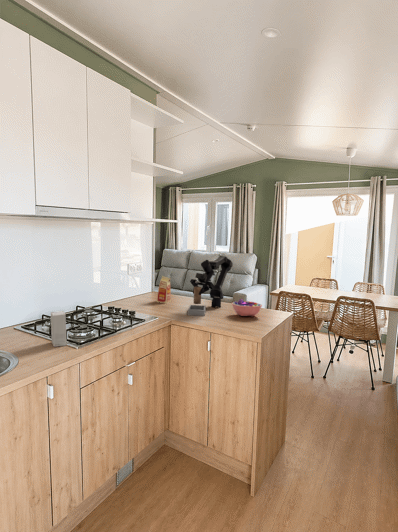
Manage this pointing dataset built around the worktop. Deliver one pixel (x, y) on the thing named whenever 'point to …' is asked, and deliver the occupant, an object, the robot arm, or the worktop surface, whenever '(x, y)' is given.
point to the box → (196, 310)
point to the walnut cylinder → (197, 295)
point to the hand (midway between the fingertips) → (196, 293)
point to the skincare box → (58, 328)
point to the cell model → (246, 308)
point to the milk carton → (164, 290)
